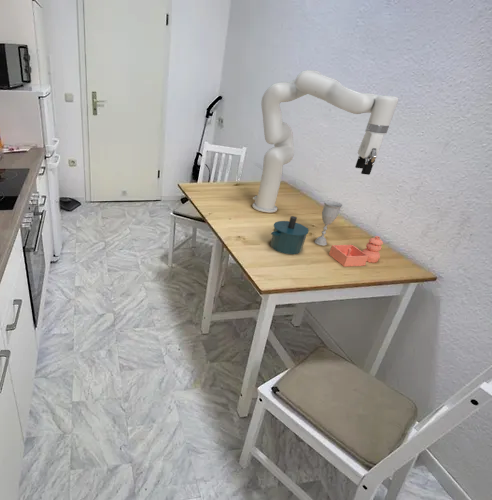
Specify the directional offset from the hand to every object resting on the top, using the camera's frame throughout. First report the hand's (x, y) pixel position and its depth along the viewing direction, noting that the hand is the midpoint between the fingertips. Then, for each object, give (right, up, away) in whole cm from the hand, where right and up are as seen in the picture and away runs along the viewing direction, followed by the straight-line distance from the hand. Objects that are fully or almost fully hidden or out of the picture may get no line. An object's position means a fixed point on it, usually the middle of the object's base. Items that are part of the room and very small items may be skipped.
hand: (362, 171), depth 152 cm
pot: (-33, -32, -2) cm, 46 cm away
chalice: (-16, -31, +3) cm, 35 cm away
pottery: (-8, -37, -9) cm, 39 cm away
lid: (-33, -25, -6) cm, 42 cm away
